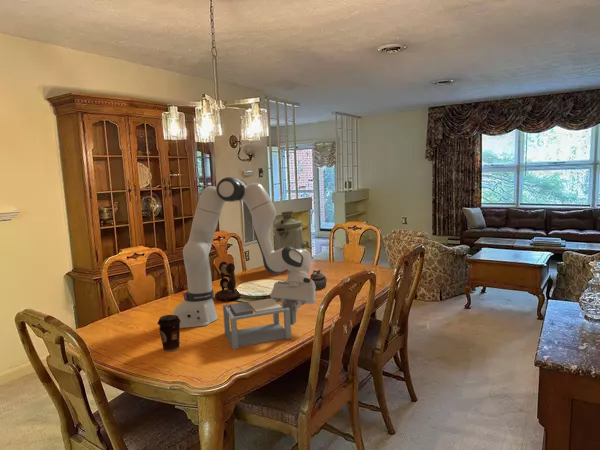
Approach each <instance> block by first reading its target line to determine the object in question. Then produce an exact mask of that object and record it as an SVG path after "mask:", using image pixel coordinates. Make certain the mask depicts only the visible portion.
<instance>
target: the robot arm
mask: <svg viewBox="0 0 600 450" xmlns="http://www.w3.org/2000/svg"><path fill="white" fill-rule="evenodd" d="M240 201H242V202H244V204H245V205H246V206H247V208H248V211H249V213H250V216H251V219H252V224H253V227H252V229H253V231H254V232H253V233H254V235H255V236H254V237H255V239H256V241H257V244H258V247H259V250H260V253H261V256H262V262H263V266H264V269H265V270H266V271H267V273H269V274H271V275H274V276H275V275H278V274H280V273H282V272H284V271H288V275H287V278H286V281H280V280H279V281H276V282H275V283H274V284H273V287H272V290H271V292H270V298H277V299H278V302H280V303H281V307H282V309H284V306H283V304H284V303H285V302H286V301H293V302H295V303H296V306H294V308H293V311H295V312H296V313H297V312H298V310H299V308H300V307H301V306H302V304H308V305H309V304H310V305H313V304H314V303H316V298H317V291H316V290H317V289H316V285H315V283H314V281H313V280H312V279H310V278H309V277H308V274H309V273H310V270H311V265H312V255H311V253H310V252H309V251H308V250H307V249H306V248H304V249H294V248H293V247H291V246H286V247H284V248H281V249H279V250H277V251H276V250H275V249H274V247H273V244H272V241H271V238H270V233H269V232H270V228H271V226H272V225H273V224H274V221H275V220H276V216H277V211H276V207H275V204H274V203H273V201H272V198H271V197H270V196H269V193H268V192H267V190H266V189H265V187H264V186H263V184H261V183H259V182H252V183H248V184H247V183H246V181H245V180H243V179H242V178H238V177H230V176H228V177H227V176H226V177H223V178H222V179H220V180H219V181H218V183H217V185H216V186H214V185H209V186H206V187H205V188H204V189H203V191H202V192H201V195H200V196H199V199H198V201H197V204H196V205H197V206H196V209H195V212H194V216H193V219H192V222H191V228H190V233H189V238H188V240H187V242H186V243H185V245H184V246H183V250H182V257H183V263H184V268H185V273H186V281H187V291H186V290H184V291H182V294H181V295H182V296H183V300H182V301H181V302H180V303H179V304H177V306H175V308H174V310H173V313H172V315H176V316H178V318H179V319H180V329H185V328H195V327H204V326H205V327H206V326H208V325H209V324H211V323H212V322H215V321H216V320H217V319H219V317H218V314H217V312H216V306H215V302H214V300H215V294H214V292H215V291H214V288H213V281H212V271H211V267H210V266H211V265H210V258H209V254H210V252H211V250H212V249H211V248H212V245H213V242H214V238H215V233H216V230H217V226H218V224H219V219H220V216H221V213H222V209H223V206H224V205H225V203H226V202H229V203H230V202H231V203H236V202H240Z"/></svg>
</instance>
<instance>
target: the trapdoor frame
mask: <svg viewBox="0 0 600 450" xmlns="http://www.w3.org/2000/svg"><path fill="white" fill-rule="evenodd" d="M265 299H266V298H264V299H261V300H265ZM268 299H272V298H271V297H270V298H268ZM273 299H274V300H275V301H276V302H277V303H278V304H279V301H278V299H277V298H273ZM259 300H260V299H258V300H255V301H259ZM252 301H253V300H251V301H246V302H247V303H248V302H252ZM222 311H223V312H222V313H223V315H222V316H223V326H224V327H223V328H224V334H225V336H226V339H227V340H228V342H229V344H230V345H231V347H232V350H237V349H239V348H242V347H248V346H253V345H258V344H263V343H267V342H268V343H269V342H274V341H279V340H284V339H286V340H290V339H292V330H291V329H292V325H291V323H290V309H289V308H284V309H279V310H272V311H266V312H260V313H255V312H253V314H248V315H242V316H236V317H235V316H234V315H233V314H232V312H231V311H230V304H222ZM279 313H280V314H281V313H283V323H284V327H283V326H282V325H281V324H280V314H279ZM269 315H272V316H273V317H272V318H273V320H272V321H273V323H270V324H266V325H265V324H264V325H260V326H259V325H258V326H253V327H247V328H243V329H238V324H237V323H238V322H237V321H239V320H244V319H251V318H257V317H263V316H269Z"/></svg>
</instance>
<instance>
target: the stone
mask: <svg viewBox="0 0 600 450" xmlns="http://www.w3.org/2000/svg"><path fill="white" fill-rule="evenodd" d="M296 305H297V303H295V302H293V301H286V302H285V303H284V304H283V306H284V308H289V309H290V323H291V326H293V325H294V324H295V323H296V322H297V312H295V311H293V308H294V306H296Z"/></svg>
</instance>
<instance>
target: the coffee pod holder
mask: <svg viewBox="0 0 600 450" xmlns="http://www.w3.org/2000/svg"><path fill="white" fill-rule="evenodd" d="M218 269H219V271H220V274H219V276H220V277H221V280H220V282H219V286H220V288H221V290H219V291H217V292H215V294H214V299H217V300H225V302H226V303H227V302H228V300H234V299H237V298H241V297H240V296H241V295H240V294H239V292H238V291H237V289H236V285H237V281H236V275H235V272H234V271H235V269H236V267H235V264H234V263H232V262H229V263H227V262H226V261H221V262H220V263H219V265H218Z"/></svg>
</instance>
